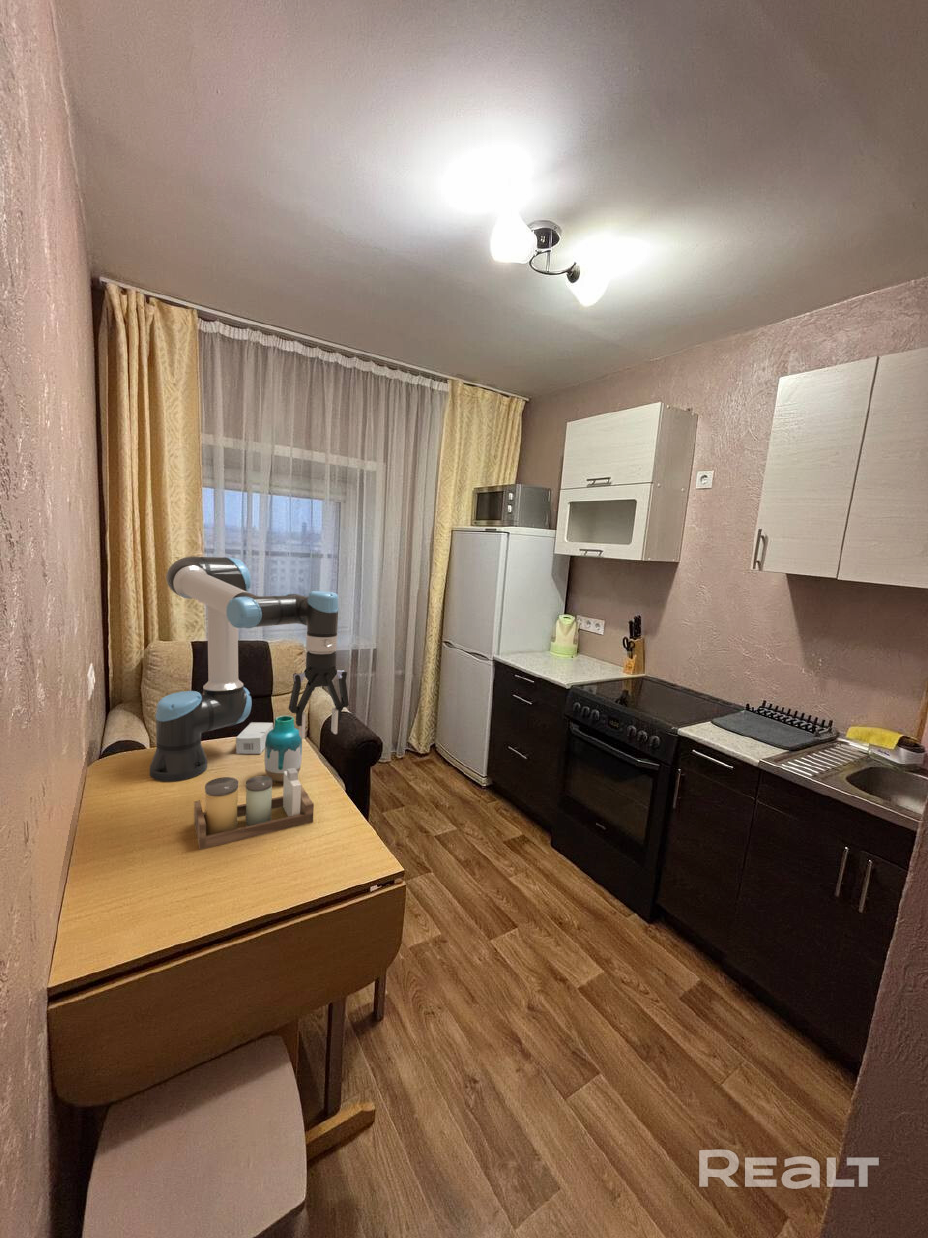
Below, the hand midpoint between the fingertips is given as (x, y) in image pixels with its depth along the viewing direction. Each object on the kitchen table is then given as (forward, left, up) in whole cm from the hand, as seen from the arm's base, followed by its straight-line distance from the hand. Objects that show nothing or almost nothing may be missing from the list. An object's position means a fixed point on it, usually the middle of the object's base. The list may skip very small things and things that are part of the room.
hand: (318, 734), depth 130 cm
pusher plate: (0, -6, -21) cm, 22 cm away
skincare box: (-42, -9, -18) cm, 47 cm away
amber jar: (0, -23, -21) cm, 32 cm away
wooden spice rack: (0, -16, -21) cm, 26 cm away
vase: (-21, -4, -21) cm, 30 cm away
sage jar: (0, -15, -21) cm, 26 cm away
